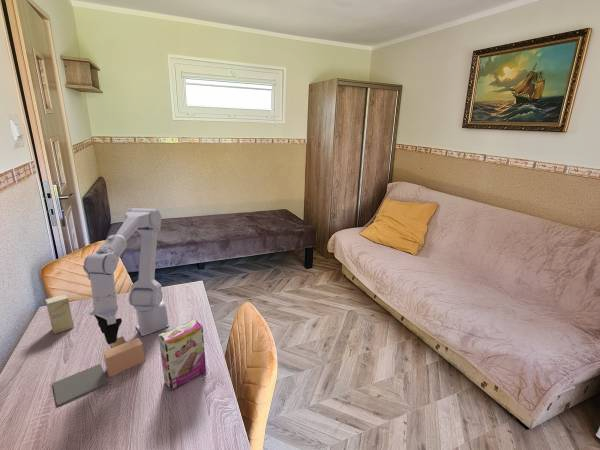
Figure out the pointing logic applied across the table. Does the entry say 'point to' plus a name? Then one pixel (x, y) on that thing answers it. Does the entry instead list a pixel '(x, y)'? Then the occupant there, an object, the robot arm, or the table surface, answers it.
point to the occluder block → (124, 356)
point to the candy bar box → (182, 353)
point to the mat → (79, 384)
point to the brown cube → (118, 342)
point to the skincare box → (59, 313)
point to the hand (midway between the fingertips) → (108, 337)
